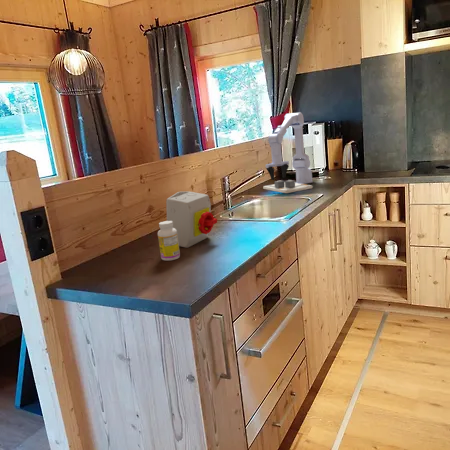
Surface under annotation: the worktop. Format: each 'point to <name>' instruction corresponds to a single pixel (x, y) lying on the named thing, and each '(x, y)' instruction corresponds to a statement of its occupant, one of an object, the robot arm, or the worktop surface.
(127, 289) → the worktop surface
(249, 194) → the worktop surface
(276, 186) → the slider
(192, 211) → the electrical switch box
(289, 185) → the slider
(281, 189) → the panel
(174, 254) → the supplement bottle
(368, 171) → the worktop surface
